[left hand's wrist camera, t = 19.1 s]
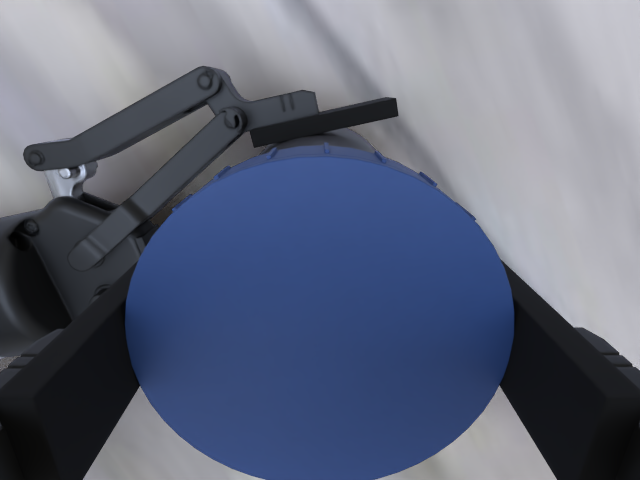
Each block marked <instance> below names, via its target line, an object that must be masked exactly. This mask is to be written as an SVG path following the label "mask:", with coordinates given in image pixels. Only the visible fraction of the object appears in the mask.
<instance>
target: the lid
mask: <svg viewBox="0 0 640 480" xmlns="http://www.w3.org/2000/svg"><path fill="white" fill-rule="evenodd" d="M436 186H437V183H435V182H434V181H433V180H431V179H430V178H429V177H428V176H426V175H425V174H424V173H422V172H420V173H419V174H418V173H416V172H415V171H413V170H411V169H409V168H407V167H406V166H404V165H402V164H400V163H398V162H396V161H393V160H391V159H388V158H385V157H383V155H382V154H381V153H380V152H378V151H375V153H371V152H366V151H362V150H358V149H354V148H348V147H338V146H329V145H328V143H324V145H321V146H299V147H293V148H287V149H281V150H277V148H272V150H271V151H270V152H269V153H266V154H263V155H259V156H256V157H253V158H250V159H248V160H246V161H244V162H242V163H240V164H238V165H236V166H234V167H230V166H227V167H225V168H224V169H223V170H222V171H220V172H219V173H218V174H217V175H215V176H214V179H213V180H211V181H210V182H208V183H207V184H206V185H205V186H203V187H202V188H201V189H200V190H199V191H197V192H196V193H195V194H194V195H191V194H190V195H189V196H188V197H186V198H185V199H184V200H183V201H181V202H180V203H179V204H177V205H176V206H175V207H174V208H173V209H172V211H173V213H172V214H171V215H170V216H169V217H168V218H167V219H166V220H165V221H164V223H163V224H162V225H161V226H160V227H159V229H158V230H157V231H156V232H155V233H154V235H153V236H152V238H151V239H150V241H149V243H148V244H147V246H146V247H145V248H144V251H143V253H142V254H141V256H140V258H139V260H138V263H137V265H136V268H135V270H134V273H133V275H132V278H131V281H130V286H129V290H128V295H127V299H126V311H125V332H126V340H127V346H128V350H129V355H130V359H131V364H132V367H133V370H134V372H135V375H136V377H137V379H138V382H139V384H140V386H141V388H142V390H143V391H144V393H145V395H146V397H147V398H148V400H149V402H150V403H151V405H152V406H153V407H154V409H155V410H156V411H157V412H158V414H159V415H160V416H161V418H162V419H163V420H164V421H165V422H166V423H167V424H168V425H169V426H170V427H171V428H172V429H173V430H174V431H175V432H176V433H177V434H178V435H179V436H180V437H182V438H183V439H184V440H185V441H187V442H188V443H189V444H190V445H192V446H193V447H194V448H196V449H197V450H199V451H200V452H202V453H204V454H205V455H207V456H208V457H210V458H212V459H213V460H215V461H217V462H220V463H222V464H224V465H226V466H228V467H230V468H232V469H235V470H237V471H240V472H243V473H245V474H248V475H251V476H254V477H258V478H262V479H266V480H374V479H378V478H382V477H385V476H388V475H391V474H394V473H397V472H400V471H402V470H405V469H407V468H409V467H412V466H414V465H416V464H418V463H420V462H422V461H424V460H426V459H427V458H429V457H431V456H433V455H435V454H436V453H438V452H439V451H441V450H442V449H443V448H445V447H446V446H448V445H449V444H450V443H452V442H453V441H454V440H455V439H457V438H458V437H459V436H460V435H461V434H462V433H463V432H464V431H466V430H467V429H468V428H469V427H470V426H471V425H472V423H473V422H474V421H475V420H476V419H477V418H478V417H479V416H480V414H481V413H482V412H483V411H484V409H485V408H486V406H487V405H488V403H489V402H490V400H491V399H492V397H493V396H494V394H495V392H496V390H497V388H498V386H499V384H500V382H501V380H502V378H503V376H504V374H505V371H506V368H507V365H508V362H509V358H510V353H511V348H512V343H513V338H514V306H513V299H512V292H511V287H510V284H509V281H508V278H507V275H506V271H505V268H504V266H503V264H502V262H501V260H500V258H499V256H498V254H497V252H496V250H495V248H494V246H493V245H492V243H491V242H490V240H489V239H488V238H487V236H486V235H485V233H484V232H483V231H482V229H481V228H480V226H479V225H478V224H477V223H476V222H475V220H476V218H475V217H474V216H473V215H471V214H470V213H469V212H468V211H466V210H465V209H464V208H463V207H462V206H460V205H459V204H458V203H457V202H456V203H455V202H454V201H453V200H452V199H451V198H449V197H448V196H447V195H446V194H444V193H443V192H442V191H441V190H440V189H438V188H437V187H436Z"/></svg>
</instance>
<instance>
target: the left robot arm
mask: <svg viewBox="0 0 640 480" xmlns="http://www.w3.org/2000/svg"><path fill="white" fill-rule="evenodd" d="M501 262H502V264H503V266H504V268H505V271H506V275H507V278H508V281H509V284H510V287H511V292H512V299H513V306H514V338H513V343H512V348H511V353H510V358H509V362H508V365H507V368H506V371H505V374H504V376H503V378H502V380H501V382H500V384H499V385H500V387H501V388H502V390H503V392H504V393H505V395H506V397H507V398H508V400H509V402H510V403H511V405H512V406H513V408H514V410H515V411H516V413H517V415H518V416H519V418H520V420H521V421H522V423H523V424H524V426H525V428H526V429H527V431H528V433H529V434H530V436H531V438H532V439H533V441H534V442H535V444H536V446H537V447H538V449H539V451H540V452H541V454H542V456H543V457H544V459H545V460H546V462H547V464H548V465H549V467H550V469H551V470H552V472H553V474H554V475H555V477H556V478H557V480H640V370H638V369H637V368H636V367H633V366H632V364H631V363H630V362H629V361H628V360H627V359H626V358H625V357H623V356H622V355H619V352H618V351H617V350H615V349H614V348H613V347H612V346H611V345H610V344H609V343H607V342H606V341H605V340H604V339H602V338H601V337H599V336H597V335H595V334H593V333H592V332H590V331H588V330H586V329H584V328H574V327H572V326H571V325H570V324H569V323H568V322H567V321H566V320H565V319H564V318H563V317H562V316H561V315H560V314H559V313H557V312H556V311H555V310H554V309H553V308H552V307H551V306H550V305H549V304H548V303H547V302H546V301H545V300H543V299H542V298H541V297H540V296H539V295H538V294H537V293H536V292H535V291H534V290H533V289H532V288H531V287H530V286H528V285H527V284H526V283H525V282H524V281H523V280H522V279H521V278H520V277H519V276H518V275H517V274H516V273H514V272H513V271H512V270H511V269H510V268H509V267H508V266H507V265H506V264H505V263H504V262H503V261H502V260H501ZM137 263H138V261H137V262H136V263H135V264H134V265H133V266H132V267H131V268H130V269H128V270H127V271H126V272H125V273H124V274H123V275H122V276H121V277H120V278H119V279H118V280H117V281H116V282H115V283H113V284H112V285H111V286H110V287H109V288H108V289H107V290H106V291H105V292H104V293H103V294H102V295H101V296H99V297H98V298H97V299H96V300H95V301H94V302H93V303H92V304H91V305H90V306H89V307H88V308H87V309H85V310H84V311H83V312H82V313H81V314H80V315H79V316H78V317H77V318H76V319H75V320H74V321H73V322H72V323H70V324H69V325H68V326H67V327H66V328H65V329H56V330H55V331H53V332H51V333H49V334H47V335H46V336H44V337H42V338H40V339H38V340H37V341H35V342H34V343H33V344H32V345H31V346H30V347H29V348H27V349H26V350H25V351H24V352H23V353H22V354H21V357H17V358H16V359H15V360H14V361H13V362H12V363H10V364H9V365H8V368H7V369H4V370H2V371H1V372H0V480H83V478H84V476H85V475H86V473H87V472H88V470H89V468H90V467H91V465H92V463H93V462H94V460H95V458H96V457H97V455H98V454H99V452H100V450H101V449H102V447H103V445H104V444H105V442H106V440H107V439H108V437H109V436H110V434H111V432H112V431H113V429H114V427H115V426H116V424H117V422H118V421H119V419H120V418H121V416H122V414H123V413H124V411H125V409H126V408H127V406H128V404H129V403H130V401H131V400H132V398H133V396H134V395H135V393H136V391H137V390H138V388H139V386H140V384H139V382H138V379H137V377H136V375H135V372H134V370H133V367H132V364H131V359H130V355H129V350H128V346H127V340H126V332H125V311H126V299H127V295H128V290H129V286H130V281H131V278H132V275H133V273H134V270H135V268H136V265H137Z"/></svg>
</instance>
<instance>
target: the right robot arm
mask: <svg viewBox="0 0 640 480" xmlns="http://www.w3.org/2000/svg"><path fill="white" fill-rule="evenodd" d="M207 104H208V105H209V107H210V108H211V110H212V111H213V113H214V114H215V115H216V116H215V117H214V118H213V119H212V120H211V121H210V122H209V123H208V124H207V125H206V126H205V127H204V128H203V129H202V130H201V131H200V132H199V133H197V134H196V135H195V136H194V137H193V138H192V139H191V140H190V141H189V142H188V143H187V144H186V145H185V146H184V147H183V148H182V149H181V150H180V151H178V152H177V153H176V154H175V155H174V156H173V157H172V158H171V159H170V160H169V161H168V162H167V163H166V164H165V165H164V166H163V167H162V168H161V169H159V170H158V171H157V172H156V173H155V174H154V175H153V176H152V177H151V178H150V179H149V180H148V181H147V182H146V183H145V184H144V185H143V186H142V187H140V188H139V189H138V190H137V191H136V192H135V193H134V194H133V195H132V196H131V197H130V198H129V199H127V200H126V201H125V202H123V203H122V204H121V205H120V206H119V205H116V204H114V203H111V202H109V201H106V200H104V199H101V198H99V197H96V196H94V195H91V194H89V193H86V192H83V189H82V187H83V183H84V181H86V180H87V179H89V178H91V177H93V176H94V175H95V173H96V169H97V167H98V163H97V162H96V161H97V160H100V159H103V158H106V157H110V156H112V155H114V154H117V153H119V152H121V151H123V150H124V149H126V148H128V147H130V146H132V145H134V144H135V143H137V142H139V141H141V140H143V139H145V138H146V137H148V136H150V135H152V134H154V133H156V132H157V131H159V130H161V129H163V128H165V127H167V126H168V125H170V124H172V123H174V122H176V121H178V120H180V119H181V118H183V117H185V116H187V115H189V114H191V113H192V112H194V111H196V110H198V109H200V108H202V107H203V106H205V105H207ZM397 116H398V109H397V102H396V98H389V97H385V98H381V99H376V100H372V101H367V102H363V103H358V104H354V105H349V106H345V107H340V108H336V109H331V110H327V111H322V112H319V110H318V105H317V100H316V95H315V92H311V91H306V90H300V91H296V92H292V93H287V94H283V95H279V96H274V97H270V98H265V99H261V100H257V101H248V100H246V99H244V98H243V97H241V96H240V94H239V93H238V92H237V90H236V89H235V87H234V86H233V84H232V83H231V79H230V77H229V75H228V74H227V73H226V72H225V71H223V70H220V69H216V68H212V67H206V66H201V67H198V68H196V69H194V70H192V71H191V72H189V73H187V74H185V75H184V76H182V77H180V78H178V79H176V80H175V81H173V82H171V83H169V84H168V85H166V86H164V87H162V88H161V89H159V90H157V91H155V92H153V93H152V94H150V95H148V96H146V97H145V98H143V99H141V100H139V101H137V102H136V103H134V104H132V105H130V106H129V107H127V108H125V109H123V110H122V111H120V112H118V113H116V114H114V115H113V116H111V117H109V118H107V119H106V120H104V121H102V122H100V123H98V124H97V125H95V126H93V127H91V128H90V129H88V130H86V131H84V132H83V133H81V134H79V135H77V136H75V137H74V138H66V139H60V140H55V141H49V142H44V143H38V144H33V145H30V146H27V147H26V148H25V149H24V153H23V156H24V160H25V162H26V164H27V165H28V166H29V167H30V168H32V169H34V170H36V171H44V173H45V176H46V179H47V182H48V184H49V187H50V190H51V193H52V195H53V198H54V199H53V200H51V201H50V202H49V203H48V204H47V205H46V206H45V207H44V208H43V209H40V210H35V211H30V212H26V213H21V214H17V215H12V216H7V217H3V218H0V359H2V358H5V357H13V356H20V355H21V354H22V353H23V352H24V351H25V350H26V349H27V348H29V347H30V346H31V345H32V344H33V343H34V342H35V341H37V340H38V339H40V338H42V337H44V336H46V335H47V334H49V333H51V332H53V331H55V330H56V329H65V328H66V327H67V326H68V325H69V324H70V323H72V322H73V321H74V320H75V319H76V318H77V317H78V316H79V315H80V314H81V313H82V312H83V311H84V310H85V309H87V308H88V307H89V306H90V305H91V304H92V303H93V302H94V301H95V300H96V299H97V298H98V297H99V296H101V295H102V294H103V293H104V292H105V291H106V290H107V289H108V288H109V287H110V286H111V285H112V284H113V283H115V282H116V281H117V280H118V279H119V278H120V277H121V276H122V275H123V274H124V273H125V272H126V271H127V270H128V269H130V268H131V267H132V266H133V265H134V264H135V263H136V262H137V261H138V260H139V258H140V256H141V254H142V253H143V251H144V248H145V247H146V246H147V244H148V243H149V241H150V239H151V238H152V236H153V235H154V233H155V232H156V231H157V230H158V229H159V226H158V224H156V225H153V224H152V222H151V221H150V219H151V218H152V217H153V216H154V215H155V214H156V213H158V212H159V211H160V210H161V209H162V208H163V207H164V206H165V205H166V204H167V203H168V202H169V201H170V200H171V199H172V198H173V197H174V196H176V195H177V194H178V193H179V192H180V191H181V190H182V189H183V188H184V187H185V186H187V185H188V184H189V183H190V182H191V181H192V180H193V179H194V178H195V177H196V176H198V175H199V174H200V173H201V172H202V171H203V170H204V169H205V168H206V167H207V166H208V165H210V164H211V163H212V162H213V161H214V160H215V159H216V158H217V157H218V156H219V155H221V154H222V153H223V152H224V151H225V150H226V149H227V148H228V147H229V146H230V145H232V144H233V143H234V142H235V141H236V140H237V139H238V138H239V137H240V136H241V135H242V134H244V133H245V132H247V131H250V134H251V138H252V142H253V145H254V148H255V147H260V146H265V145H269V144H274V143H278V142H283V141H287V140H292V139H296V138H301V137H306V136H310V135H315V134H319V133H324V132H328V131H333V130H337V129H342V128H347V127H351V126H356V125H360V124H365V123H369V122H374V121H378V120H383V119H387V118H392V117H397Z"/></svg>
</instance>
